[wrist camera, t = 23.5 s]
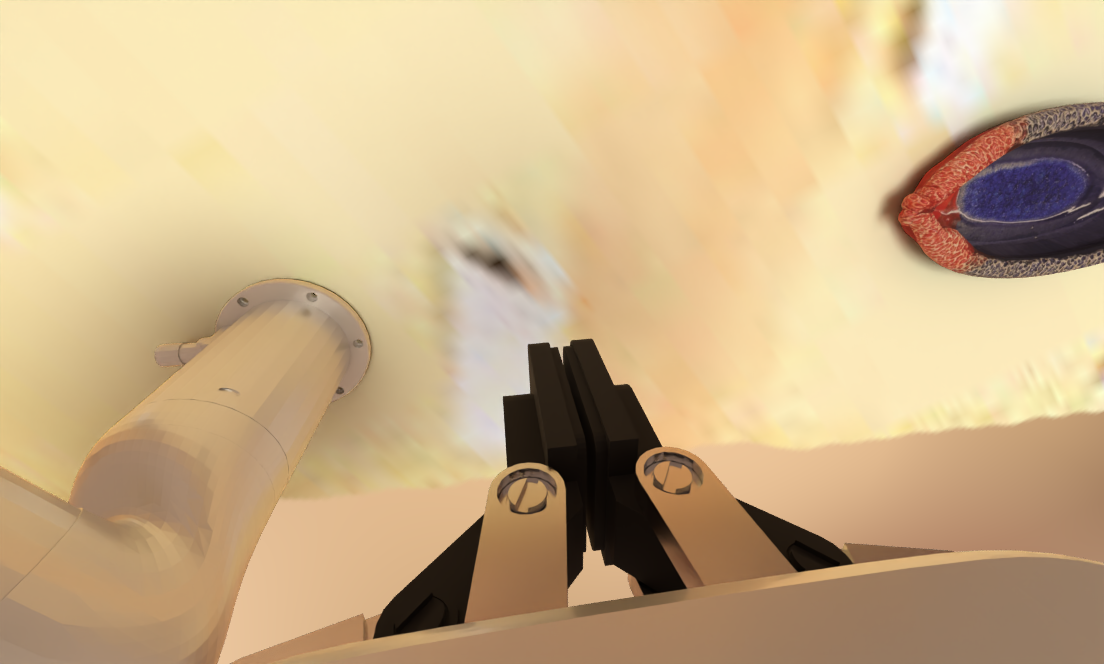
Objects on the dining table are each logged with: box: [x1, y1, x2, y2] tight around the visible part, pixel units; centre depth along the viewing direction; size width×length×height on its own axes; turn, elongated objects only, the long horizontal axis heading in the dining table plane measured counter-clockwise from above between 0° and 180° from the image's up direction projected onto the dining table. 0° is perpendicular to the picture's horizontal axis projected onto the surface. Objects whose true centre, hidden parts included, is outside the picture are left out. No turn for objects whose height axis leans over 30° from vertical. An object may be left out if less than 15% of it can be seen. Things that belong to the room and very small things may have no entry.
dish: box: [898, 102, 1104, 278], centre depth 42 cm, size 16×31×5 cm, turn 89°
